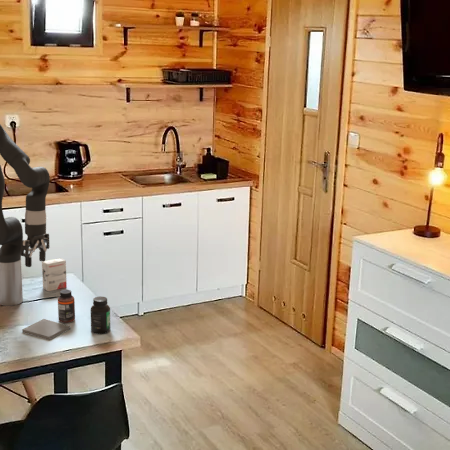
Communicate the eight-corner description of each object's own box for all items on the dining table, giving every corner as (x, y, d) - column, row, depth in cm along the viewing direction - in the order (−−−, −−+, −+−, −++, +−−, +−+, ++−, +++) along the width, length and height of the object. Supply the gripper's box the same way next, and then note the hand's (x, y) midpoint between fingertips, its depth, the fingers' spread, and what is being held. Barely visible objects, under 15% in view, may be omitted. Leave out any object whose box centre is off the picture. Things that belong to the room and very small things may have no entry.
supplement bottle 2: (113, 332, 249) (113, 300, 246) (95, 336, 245) (95, 303, 242) (105, 325, 255) (105, 294, 252) (87, 329, 251) (87, 297, 248)
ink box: (61, 284, 294) (60, 257, 291) (67, 287, 291) (66, 260, 288) (42, 288, 289) (41, 260, 286) (47, 291, 285) (46, 264, 282)
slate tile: (22, 332, 246) (22, 329, 246) (43, 321, 256) (43, 318, 255) (49, 339, 241) (49, 336, 241) (70, 328, 251) (70, 325, 250)
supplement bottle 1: (68, 315, 262) (67, 287, 259) (78, 320, 258) (77, 291, 255) (55, 320, 257) (54, 291, 254) (65, 324, 254) (64, 295, 251)
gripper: (38, 216, 266) (38, 257, 270) (14, 223, 253) (15, 267, 257) (55, 219, 264) (55, 260, 268) (32, 226, 251) (32, 270, 255)
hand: (35, 263), depth 262 cm, fingers open, 8 cm apart
